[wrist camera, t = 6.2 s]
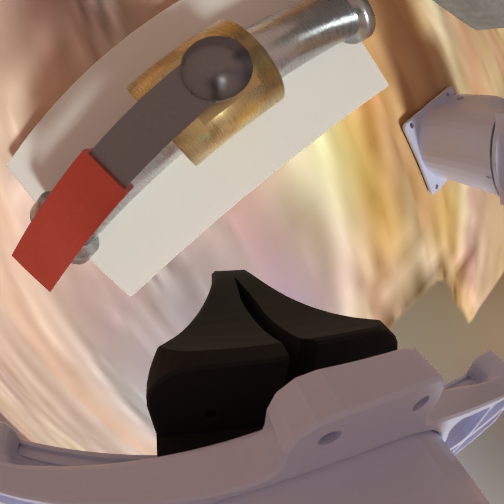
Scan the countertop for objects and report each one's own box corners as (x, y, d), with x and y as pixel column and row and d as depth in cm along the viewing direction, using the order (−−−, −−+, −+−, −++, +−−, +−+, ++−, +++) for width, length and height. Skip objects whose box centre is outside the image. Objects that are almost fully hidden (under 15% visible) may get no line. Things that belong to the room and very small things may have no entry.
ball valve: (305, -8, 15) (354, -50, 8) (351, 49, 18) (414, 28, 11) (47, 191, 17) (-7, 220, 10) (101, 249, 19) (71, 302, 12)
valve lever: (216, 36, 9) (221, 23, 8) (257, 79, 11) (268, 71, 9) (25, 240, 10) (10, 253, 9) (63, 277, 12) (51, 293, 10)
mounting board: (279, -39, 14) (285, -48, 13) (378, 87, 20) (388, 85, 19) (16, 163, 16) (6, 166, 14) (133, 287, 22) (130, 297, 20)
